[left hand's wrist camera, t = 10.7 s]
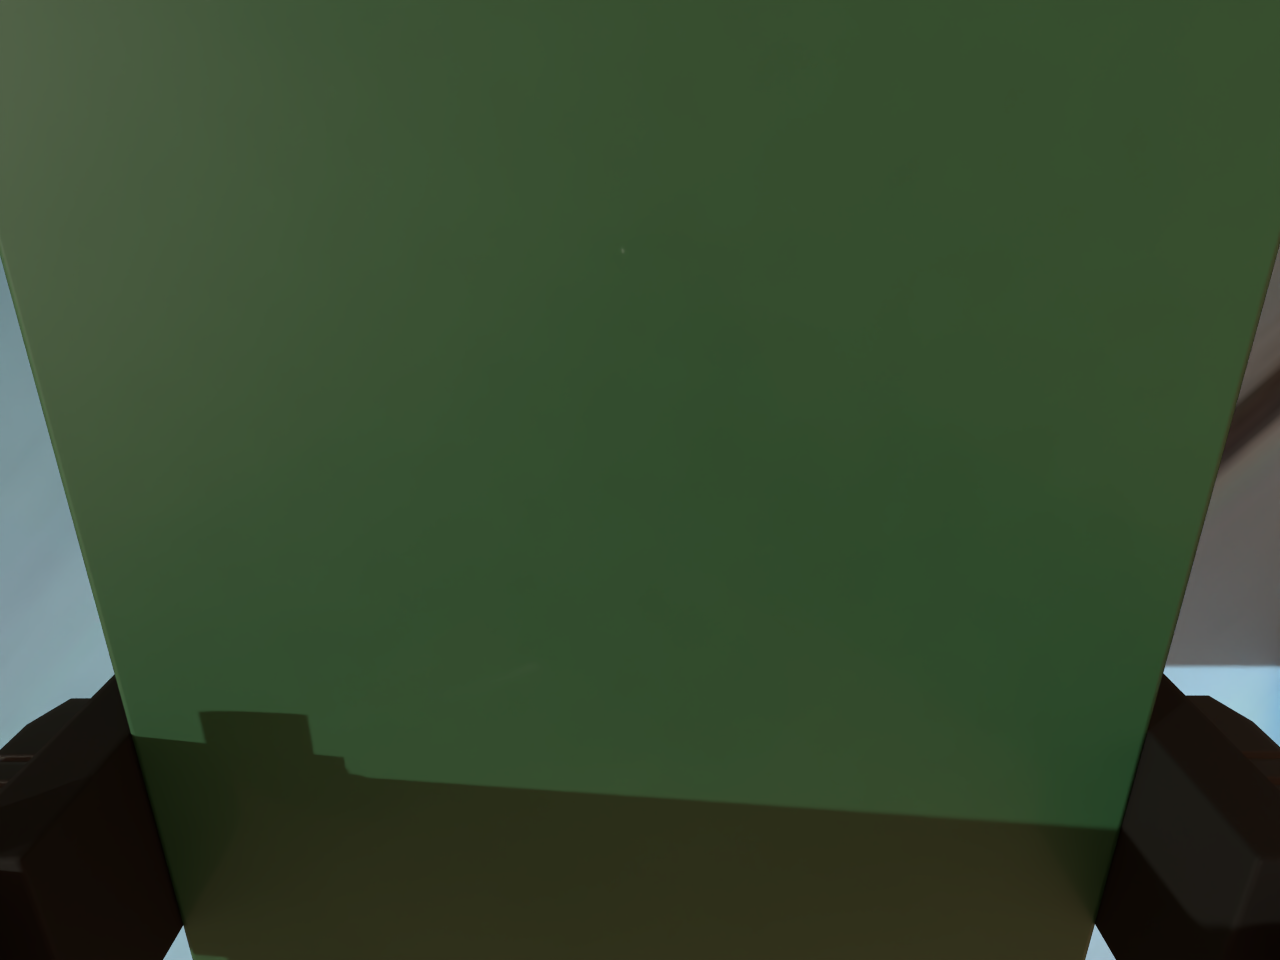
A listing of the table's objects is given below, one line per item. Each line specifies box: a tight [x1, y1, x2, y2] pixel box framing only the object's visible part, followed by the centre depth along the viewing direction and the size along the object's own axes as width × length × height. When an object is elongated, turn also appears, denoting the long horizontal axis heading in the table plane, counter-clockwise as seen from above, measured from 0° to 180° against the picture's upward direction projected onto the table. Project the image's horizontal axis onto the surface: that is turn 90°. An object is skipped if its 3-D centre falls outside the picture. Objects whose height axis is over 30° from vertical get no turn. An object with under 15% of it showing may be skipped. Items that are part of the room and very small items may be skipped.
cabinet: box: [0, 0, 1280, 960], centre depth 12 cm, size 20×10×11 cm, turn 0°
